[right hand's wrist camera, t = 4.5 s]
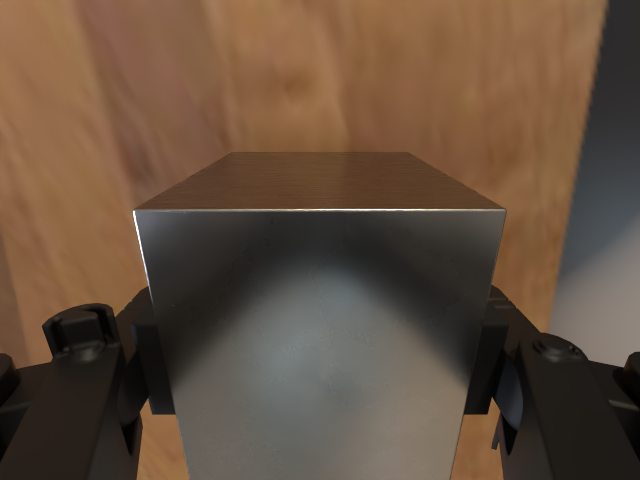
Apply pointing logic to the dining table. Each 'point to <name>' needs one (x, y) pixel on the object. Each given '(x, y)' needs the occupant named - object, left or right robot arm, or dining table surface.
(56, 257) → the dining table surface
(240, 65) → the dining table surface
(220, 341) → the block
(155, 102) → the dining table surface
